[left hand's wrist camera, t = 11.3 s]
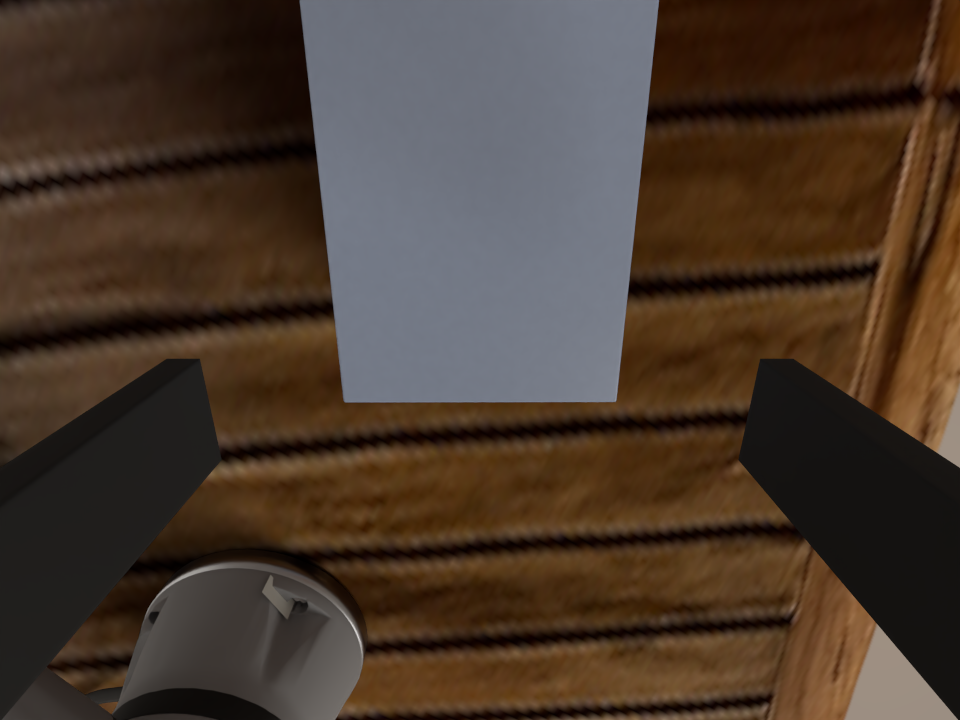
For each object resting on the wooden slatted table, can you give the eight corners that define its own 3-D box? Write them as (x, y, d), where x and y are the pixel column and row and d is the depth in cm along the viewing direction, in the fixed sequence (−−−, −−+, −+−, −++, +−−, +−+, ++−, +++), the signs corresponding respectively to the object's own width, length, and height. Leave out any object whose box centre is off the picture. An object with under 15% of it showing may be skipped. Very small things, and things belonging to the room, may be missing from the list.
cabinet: (358, -101, 22) (265, -297, 13) (599, -102, 22) (691, -298, 13) (388, 321, 29) (343, 402, 20) (571, 320, 29) (616, 402, 20)
